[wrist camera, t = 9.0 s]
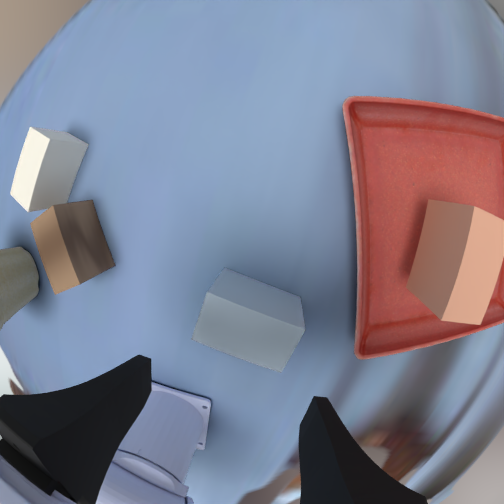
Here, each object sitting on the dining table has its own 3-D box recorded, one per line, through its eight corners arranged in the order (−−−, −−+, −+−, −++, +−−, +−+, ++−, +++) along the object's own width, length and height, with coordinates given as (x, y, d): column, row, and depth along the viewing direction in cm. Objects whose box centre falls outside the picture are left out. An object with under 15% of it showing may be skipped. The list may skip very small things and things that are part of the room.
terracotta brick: (442, 294, 16) (480, 324, 11) (405, 287, 16) (441, 320, 11) (464, 213, 14) (510, 224, 9) (428, 199, 14) (474, 206, 10)
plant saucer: (498, 307, 18) (515, 319, 15) (345, 340, 21) (353, 363, 18) (500, 126, 14) (521, 122, 11) (330, 109, 17) (339, 95, 14)
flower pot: (58, 273, 22) (-4, 303, 14) (40, 325, 24) (-6, 357, 16) (16, 215, 21) (-41, 229, 13) (3, 272, 23) (-43, 292, 15)
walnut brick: (116, 265, 21) (80, 284, 16) (90, 275, 21) (55, 294, 17) (93, 199, 20) (52, 205, 15) (68, 215, 20) (30, 223, 16)
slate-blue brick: (300, 296, 20) (305, 329, 15) (281, 334, 21) (281, 372, 16) (224, 267, 20) (207, 291, 15) (210, 306, 21) (191, 339, 16)
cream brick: (66, 205, 20) (28, 212, 15) (47, 190, 20) (10, 193, 15) (89, 144, 19) (50, 139, 14) (67, 132, 19) (30, 126, 14)
